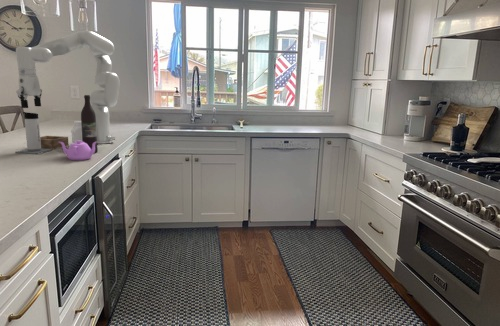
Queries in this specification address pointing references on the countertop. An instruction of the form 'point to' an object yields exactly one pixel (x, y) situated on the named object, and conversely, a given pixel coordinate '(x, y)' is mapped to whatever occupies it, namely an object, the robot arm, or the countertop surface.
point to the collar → (53, 142)
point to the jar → (77, 132)
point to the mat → (34, 151)
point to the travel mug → (32, 131)
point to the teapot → (79, 150)
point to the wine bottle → (88, 124)
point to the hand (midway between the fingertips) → (31, 107)
